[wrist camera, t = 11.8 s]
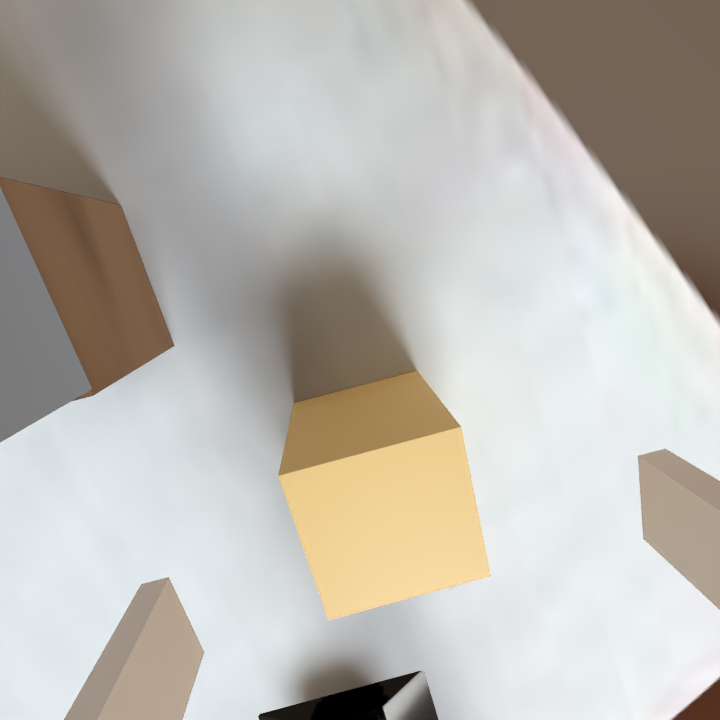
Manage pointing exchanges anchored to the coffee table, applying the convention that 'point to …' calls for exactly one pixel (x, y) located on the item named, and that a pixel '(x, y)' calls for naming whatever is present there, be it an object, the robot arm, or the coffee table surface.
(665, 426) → the coffee table surface
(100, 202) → the walnut brick
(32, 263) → the gray brick
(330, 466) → the yellow cube
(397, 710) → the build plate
